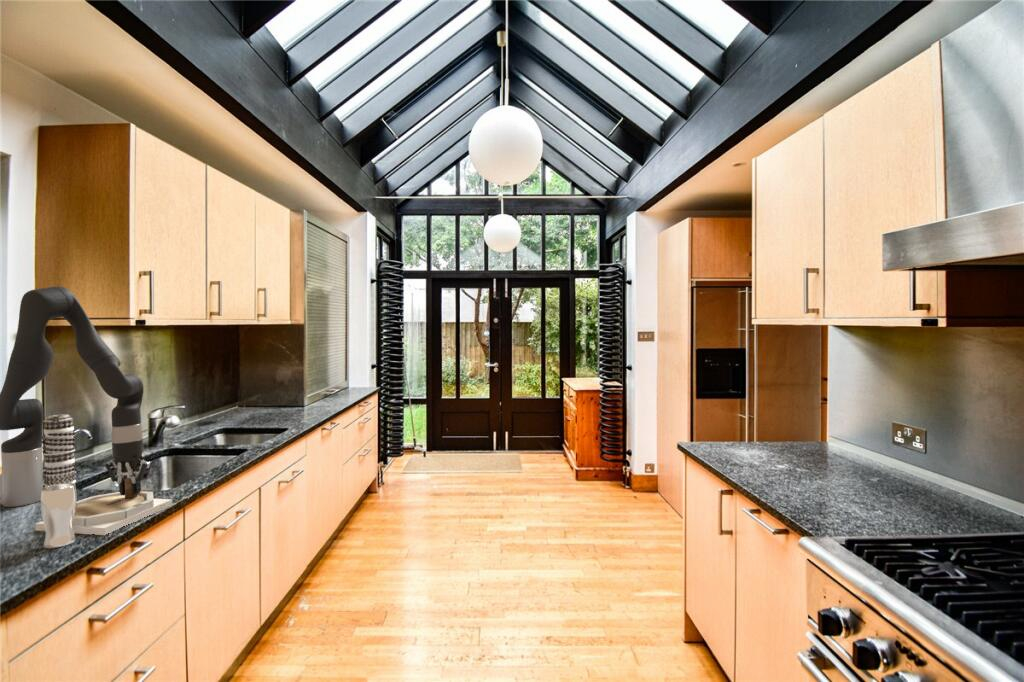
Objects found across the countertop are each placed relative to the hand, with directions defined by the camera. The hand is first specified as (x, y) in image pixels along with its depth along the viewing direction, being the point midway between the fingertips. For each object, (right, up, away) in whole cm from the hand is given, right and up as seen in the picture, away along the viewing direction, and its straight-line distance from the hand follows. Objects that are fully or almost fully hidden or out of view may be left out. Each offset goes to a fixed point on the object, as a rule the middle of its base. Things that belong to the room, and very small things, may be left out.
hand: (130, 494), depth 149 cm
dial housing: (-2, -5, -6) cm, 8 cm away
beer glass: (0, -6, -23) cm, 24 cm away
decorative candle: (-44, -4, +24) cm, 51 cm away
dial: (-2, -3, -6) cm, 7 cm away
